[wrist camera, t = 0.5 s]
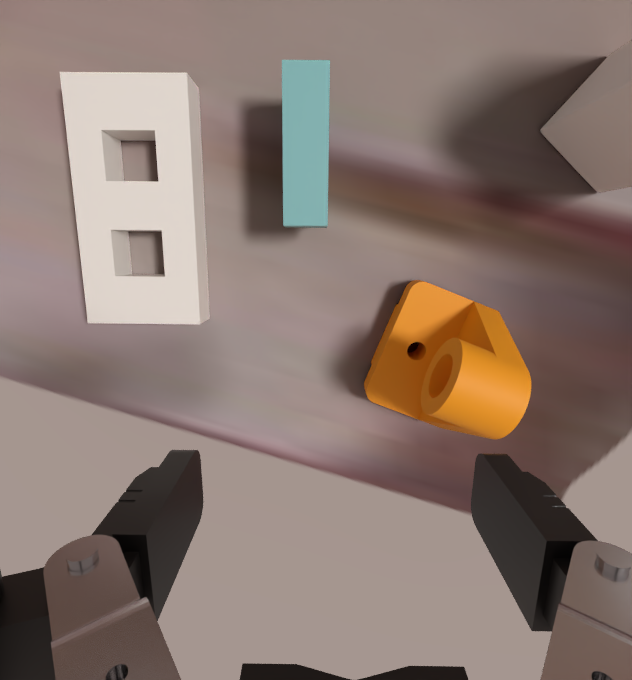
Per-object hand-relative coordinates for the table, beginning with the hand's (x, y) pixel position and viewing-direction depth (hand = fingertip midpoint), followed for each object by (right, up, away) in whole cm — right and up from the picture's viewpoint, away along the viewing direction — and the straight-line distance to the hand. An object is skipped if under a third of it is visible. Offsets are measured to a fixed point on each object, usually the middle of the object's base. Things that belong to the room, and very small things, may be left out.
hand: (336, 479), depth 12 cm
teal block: (-1, +18, +21) cm, 28 cm away
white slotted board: (-14, +15, +22) cm, 30 cm away
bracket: (+9, +3, +25) cm, 26 cm away
